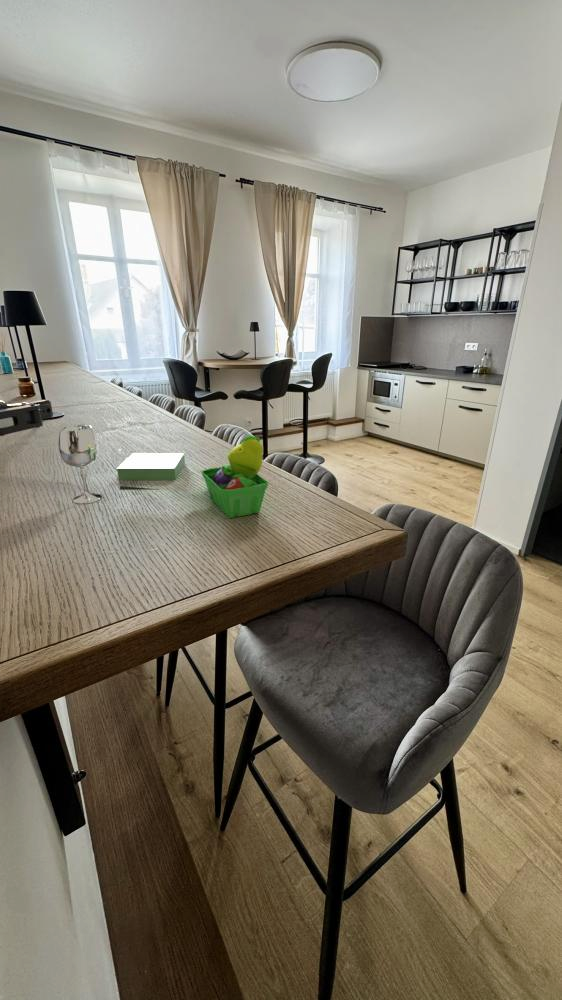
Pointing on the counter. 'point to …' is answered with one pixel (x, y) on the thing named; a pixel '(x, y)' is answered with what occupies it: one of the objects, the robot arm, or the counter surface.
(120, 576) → the counter surface
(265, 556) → the counter surface
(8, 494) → the counter surface
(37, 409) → the robot arm
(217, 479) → the fruit basket
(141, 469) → the green block
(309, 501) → the counter surface
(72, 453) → the wineglass
